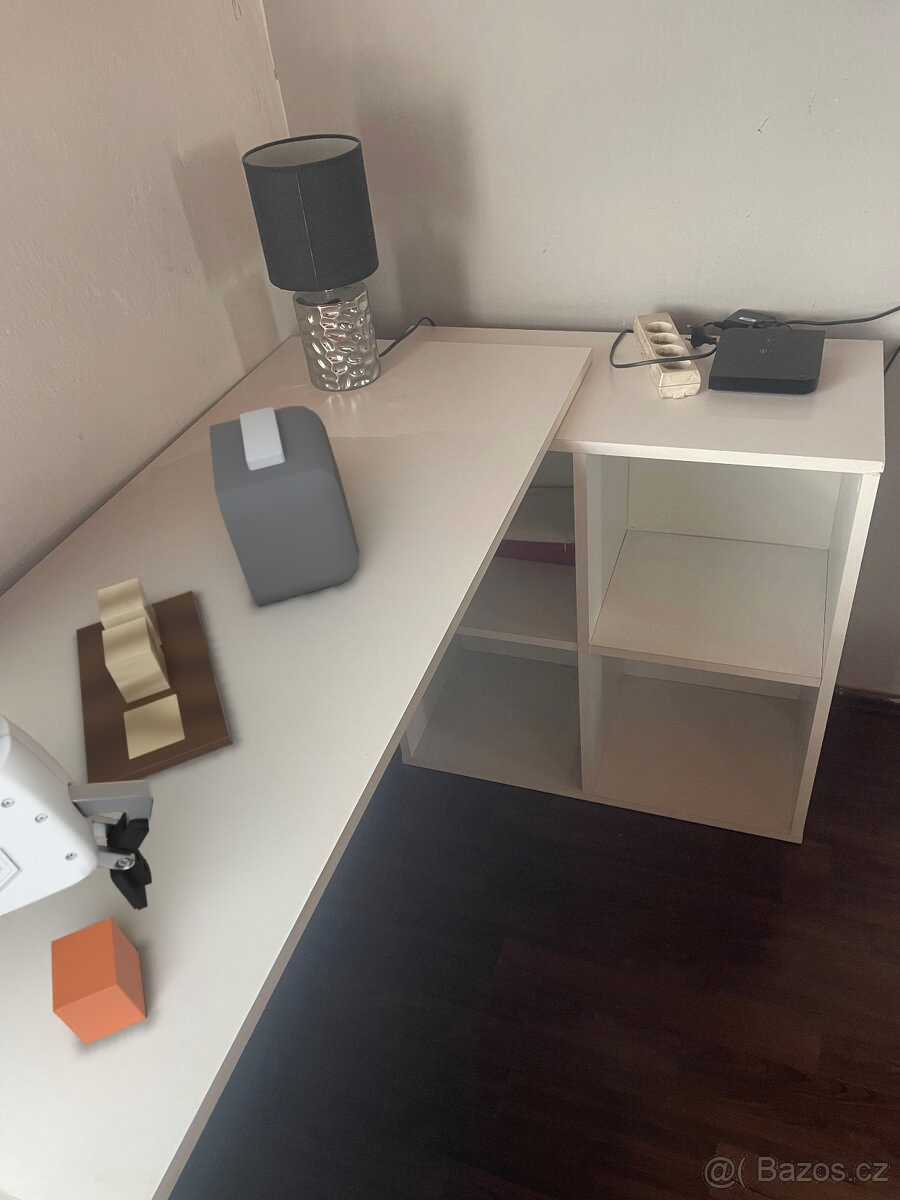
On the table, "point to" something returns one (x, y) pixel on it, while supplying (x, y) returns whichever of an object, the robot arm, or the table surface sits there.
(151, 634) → the cream wooden block
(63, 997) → the terracotta orange cube
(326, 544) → the alarm clock
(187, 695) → the word board
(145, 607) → the beige wooden cube
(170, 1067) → the table surface
